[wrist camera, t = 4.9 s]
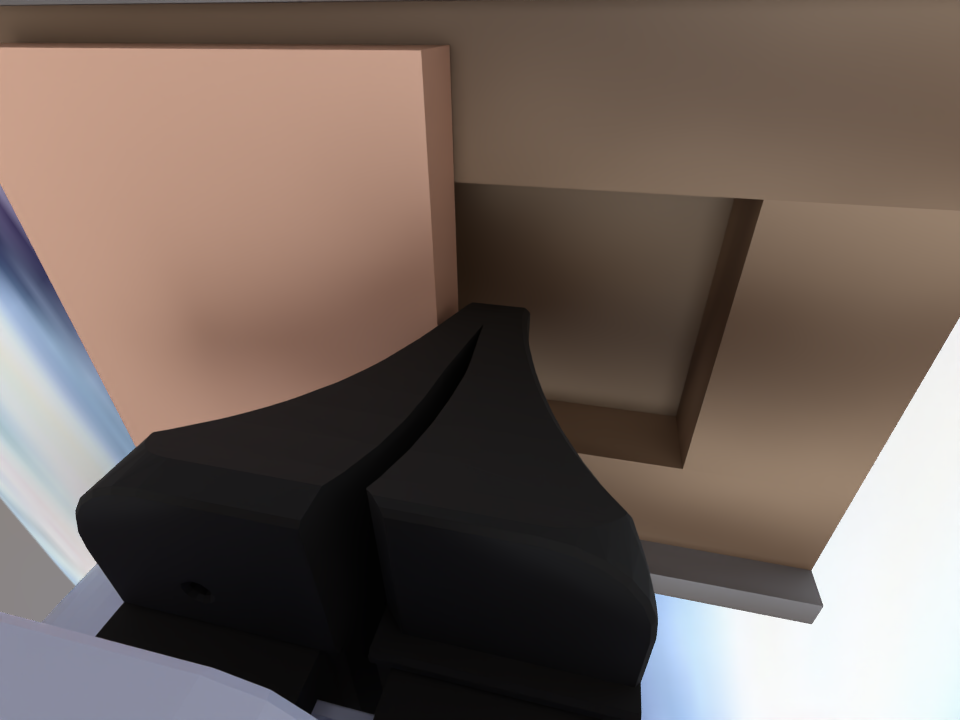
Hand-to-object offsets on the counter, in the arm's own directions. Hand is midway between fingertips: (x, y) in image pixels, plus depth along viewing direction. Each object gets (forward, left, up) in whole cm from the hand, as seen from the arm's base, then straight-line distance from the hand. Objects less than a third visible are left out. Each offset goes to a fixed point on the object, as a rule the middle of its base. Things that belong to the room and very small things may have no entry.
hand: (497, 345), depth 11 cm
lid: (0, +5, 0) cm, 6 cm away
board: (0, +2, -3) cm, 3 cm away
